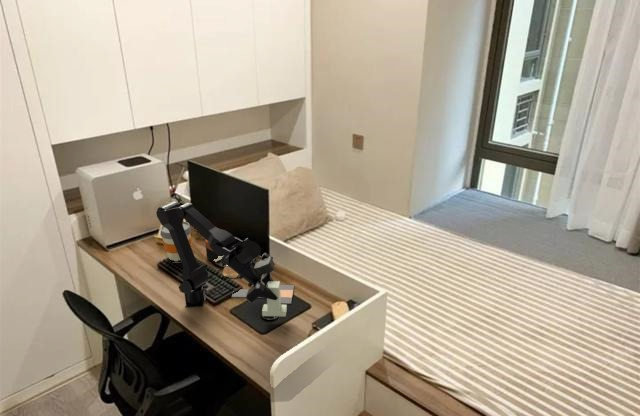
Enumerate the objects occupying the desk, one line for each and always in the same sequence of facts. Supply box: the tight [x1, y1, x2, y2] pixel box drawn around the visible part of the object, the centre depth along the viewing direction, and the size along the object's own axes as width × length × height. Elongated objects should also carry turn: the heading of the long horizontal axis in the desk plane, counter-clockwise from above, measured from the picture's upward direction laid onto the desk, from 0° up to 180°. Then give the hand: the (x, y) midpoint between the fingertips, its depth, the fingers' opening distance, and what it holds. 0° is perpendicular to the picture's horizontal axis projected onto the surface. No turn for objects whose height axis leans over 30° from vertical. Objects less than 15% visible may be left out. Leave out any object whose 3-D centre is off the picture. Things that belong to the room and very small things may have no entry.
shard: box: [221, 266, 239, 279], centre depth 187 cm, size 11×8×2 cm
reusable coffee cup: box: [160, 220, 192, 261], centre depth 195 cm, size 13×13×15 cm
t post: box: [261, 280, 288, 317], centre depth 153 cm, size 8×4×12 cm, turn 87°
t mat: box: [231, 284, 295, 305], centre depth 171 cm, size 23×12×1 cm, turn 87°
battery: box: [204, 239, 219, 262], centre depth 195 cm, size 4×7×10 cm, turn 49°
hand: (277, 295), depth 152 cm, fingers closed on t post, 4 cm apart
